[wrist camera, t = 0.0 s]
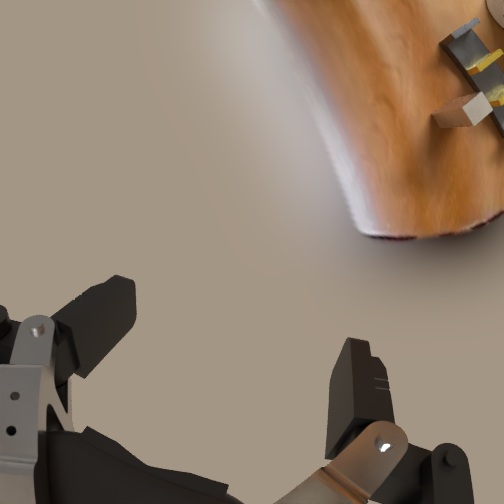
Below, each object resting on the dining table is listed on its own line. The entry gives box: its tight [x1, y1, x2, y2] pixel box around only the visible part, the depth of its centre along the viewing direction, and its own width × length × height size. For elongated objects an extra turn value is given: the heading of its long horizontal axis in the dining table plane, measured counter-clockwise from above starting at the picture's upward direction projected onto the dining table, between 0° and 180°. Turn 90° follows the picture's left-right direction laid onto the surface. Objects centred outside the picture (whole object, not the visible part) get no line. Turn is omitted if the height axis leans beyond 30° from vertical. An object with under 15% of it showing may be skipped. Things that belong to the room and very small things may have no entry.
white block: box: [431, 91, 493, 128], centre depth 25 cm, size 4×2×10 cm, turn 132°
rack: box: [439, 17, 504, 138], centre depth 23 cm, size 6×15×4 cm, turn 42°
